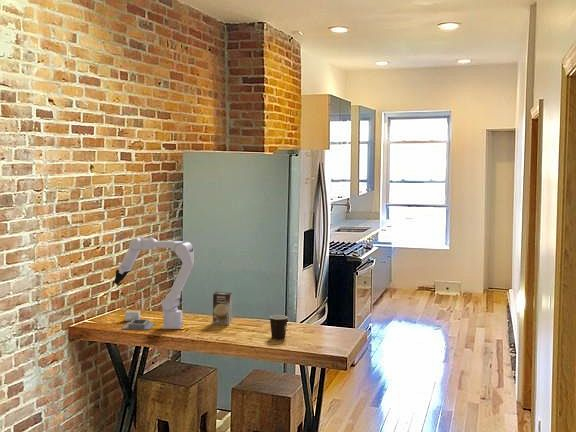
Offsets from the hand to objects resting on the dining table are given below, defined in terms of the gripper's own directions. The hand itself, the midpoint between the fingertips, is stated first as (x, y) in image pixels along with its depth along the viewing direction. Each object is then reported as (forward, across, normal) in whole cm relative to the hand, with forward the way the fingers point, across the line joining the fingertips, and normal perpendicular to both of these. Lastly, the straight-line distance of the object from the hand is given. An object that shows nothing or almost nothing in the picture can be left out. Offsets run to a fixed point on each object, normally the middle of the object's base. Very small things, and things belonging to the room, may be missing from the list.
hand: (118, 281), depth 336 cm
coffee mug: (-21, +24, +82) cm, 88 cm away
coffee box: (-5, -3, +57) cm, 58 cm away
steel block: (+17, -4, +16) cm, 23 cm away
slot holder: (+13, +8, +20) cm, 25 cm away
